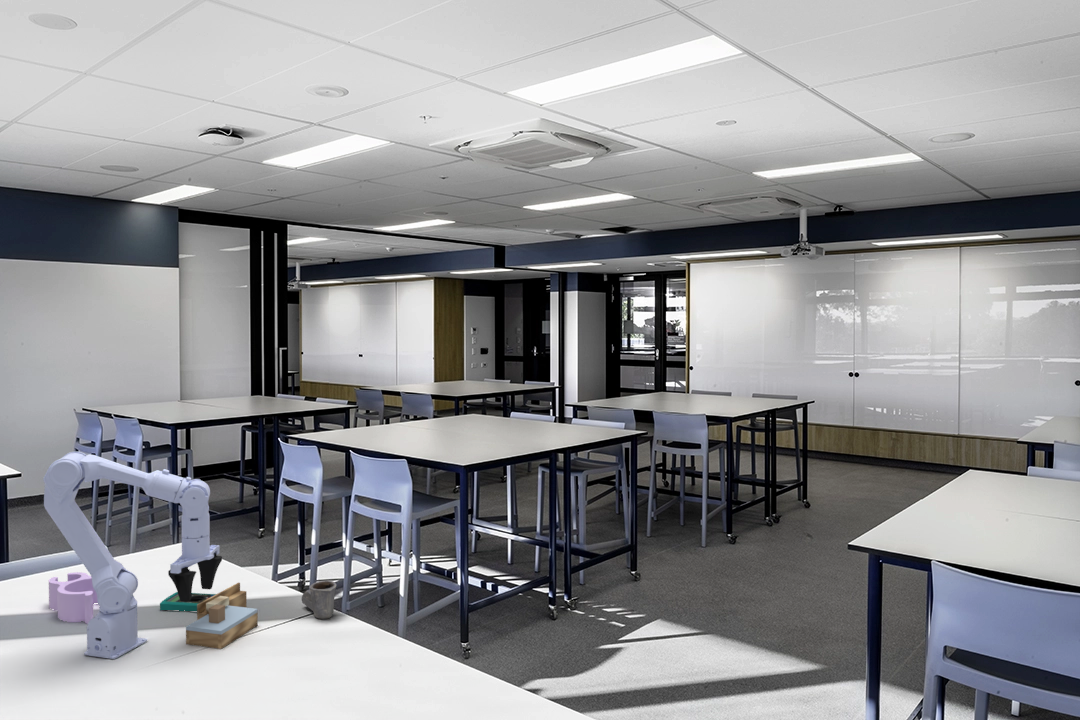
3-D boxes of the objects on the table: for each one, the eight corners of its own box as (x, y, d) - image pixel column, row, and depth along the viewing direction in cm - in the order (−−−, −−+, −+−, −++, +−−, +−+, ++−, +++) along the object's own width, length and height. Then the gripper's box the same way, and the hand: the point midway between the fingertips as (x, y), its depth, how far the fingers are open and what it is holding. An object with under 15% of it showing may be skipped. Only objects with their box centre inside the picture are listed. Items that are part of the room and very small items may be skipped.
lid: (221, 639, 161) (221, 616, 160) (186, 634, 163) (185, 612, 163) (257, 616, 173) (257, 595, 173) (224, 612, 175) (224, 591, 175)
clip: (34, 610, 182) (33, 582, 181) (87, 594, 192) (86, 568, 192) (77, 628, 171) (76, 598, 171) (130, 610, 182) (130, 583, 182)
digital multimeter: (215, 615, 180) (215, 603, 180) (158, 612, 182) (158, 600, 181) (231, 604, 187) (231, 593, 187) (175, 601, 189) (175, 590, 189)
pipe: (316, 603, 188) (316, 572, 187) (342, 618, 179) (342, 585, 178) (294, 609, 183) (294, 578, 183) (319, 625, 174) (319, 592, 174)
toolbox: (221, 648, 161) (221, 620, 161) (177, 643, 163) (176, 615, 163) (278, 612, 182) (278, 586, 181) (238, 607, 184) (238, 582, 184)
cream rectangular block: (215, 612, 170) (215, 604, 170) (206, 611, 170) (206, 603, 170) (229, 604, 174) (229, 596, 174) (220, 603, 175) (220, 595, 175)
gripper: (190, 545, 157) (191, 608, 158) (231, 527, 172) (231, 584, 172) (161, 543, 159) (162, 605, 159) (203, 525, 173) (204, 582, 174)
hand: (196, 594), depth 166 cm, fingers open, 7 cm apart
